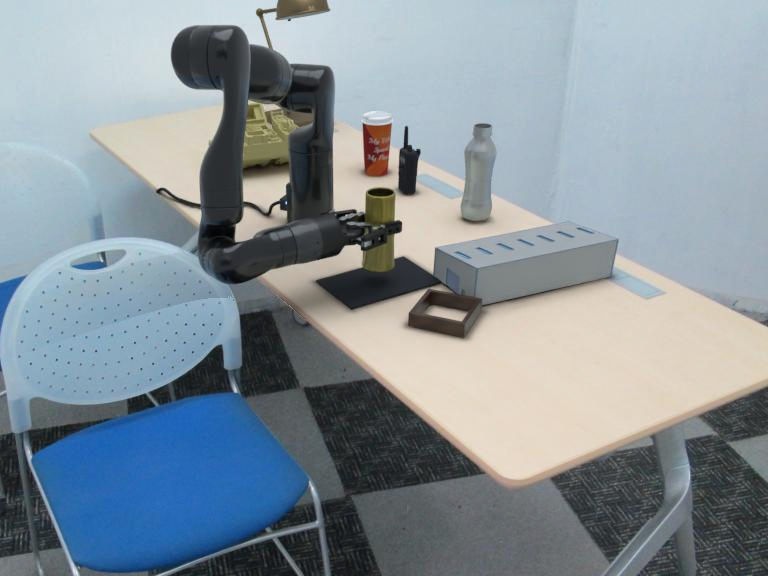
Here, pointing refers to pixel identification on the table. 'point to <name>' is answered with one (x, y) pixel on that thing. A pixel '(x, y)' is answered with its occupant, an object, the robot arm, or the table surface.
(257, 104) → the control panel
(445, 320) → the holder
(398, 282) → the mat
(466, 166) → the plastic bottle
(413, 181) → the two-way radio
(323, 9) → the lamp
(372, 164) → the paper cup
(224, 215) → the robot arm
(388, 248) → the vase
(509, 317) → the table surface
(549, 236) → the warehouse
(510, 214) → the table surface
